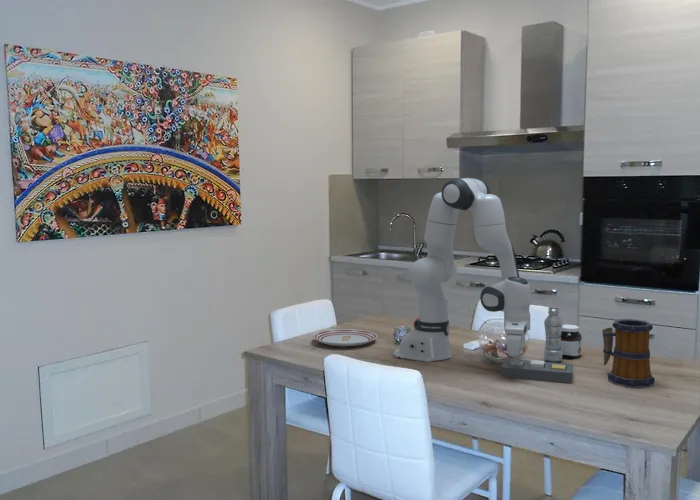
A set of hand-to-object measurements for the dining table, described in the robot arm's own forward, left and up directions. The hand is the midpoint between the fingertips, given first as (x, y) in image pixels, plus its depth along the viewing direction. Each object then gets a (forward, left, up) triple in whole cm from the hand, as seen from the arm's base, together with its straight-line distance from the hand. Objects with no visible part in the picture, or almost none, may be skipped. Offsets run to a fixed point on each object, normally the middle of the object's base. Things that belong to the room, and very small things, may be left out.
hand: (516, 362), depth 219 cm
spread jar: (+15, +31, -4) cm, 34 cm away
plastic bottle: (+11, +20, -4) cm, 23 cm away
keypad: (+7, 0, -4) cm, 8 cm away
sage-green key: (0, 0, -2) cm, 2 cm away
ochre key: (+14, 0, -2) cm, 14 cm away
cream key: (+7, 0, -1) cm, 7 cm away
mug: (+35, +5, -4) cm, 35 cm away
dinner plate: (-74, +24, -4) cm, 78 cm away
